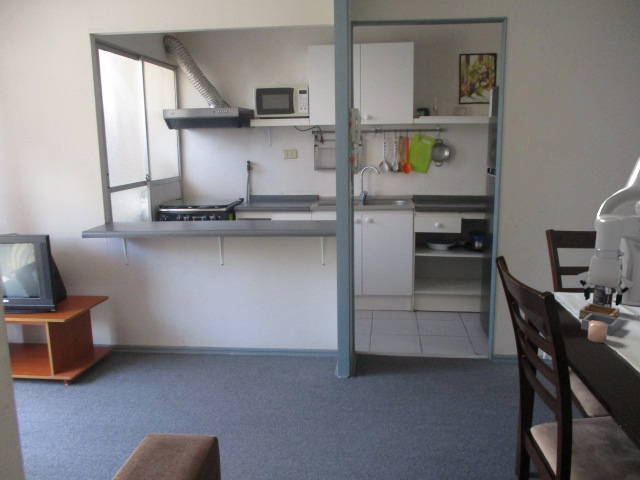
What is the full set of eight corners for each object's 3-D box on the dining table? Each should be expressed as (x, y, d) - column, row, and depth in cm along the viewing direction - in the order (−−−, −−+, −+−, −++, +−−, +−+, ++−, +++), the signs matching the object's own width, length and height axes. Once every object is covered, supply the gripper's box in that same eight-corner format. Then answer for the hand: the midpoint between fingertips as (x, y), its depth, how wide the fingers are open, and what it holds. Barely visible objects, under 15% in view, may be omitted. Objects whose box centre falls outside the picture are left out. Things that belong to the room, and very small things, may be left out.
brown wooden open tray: (587, 312, 188) (588, 303, 187) (618, 318, 181) (619, 309, 181) (579, 319, 181) (579, 310, 180) (610, 325, 174) (611, 316, 174)
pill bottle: (613, 314, 185) (616, 282, 183) (594, 313, 186) (597, 281, 184) (607, 308, 191) (611, 277, 189) (589, 307, 192) (592, 277, 190)
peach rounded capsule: (590, 335, 167) (592, 319, 166) (608, 339, 163) (609, 323, 162) (585, 339, 163) (586, 323, 162) (603, 343, 160) (605, 327, 159)
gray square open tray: (589, 321, 178) (590, 312, 178) (618, 327, 173) (620, 317, 172) (580, 328, 172) (581, 318, 171) (611, 335, 166) (612, 325, 165)
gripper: (638, 255, 182) (632, 304, 185) (583, 248, 193) (579, 294, 196) (632, 259, 176) (627, 309, 179) (576, 252, 187) (572, 299, 191)
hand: (602, 301), depth 188 cm, fingers open, 9 cm apart
